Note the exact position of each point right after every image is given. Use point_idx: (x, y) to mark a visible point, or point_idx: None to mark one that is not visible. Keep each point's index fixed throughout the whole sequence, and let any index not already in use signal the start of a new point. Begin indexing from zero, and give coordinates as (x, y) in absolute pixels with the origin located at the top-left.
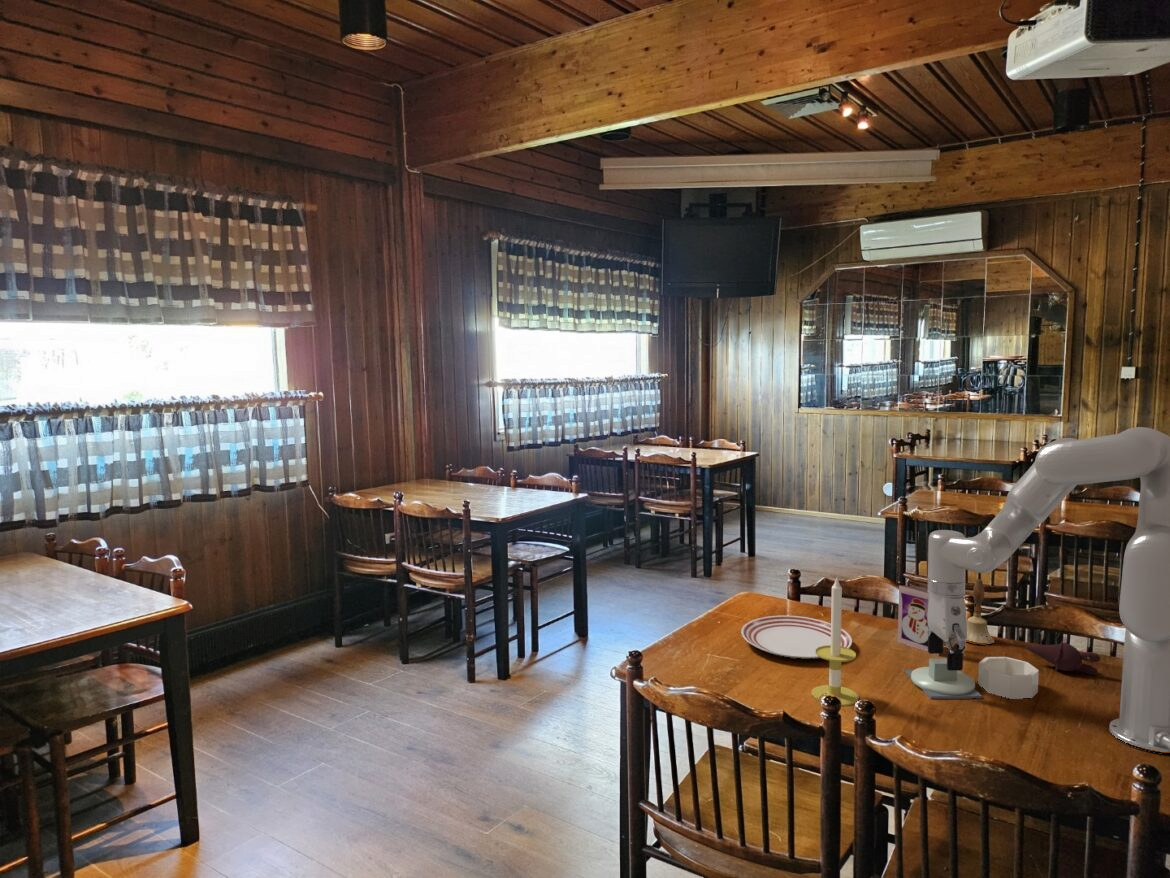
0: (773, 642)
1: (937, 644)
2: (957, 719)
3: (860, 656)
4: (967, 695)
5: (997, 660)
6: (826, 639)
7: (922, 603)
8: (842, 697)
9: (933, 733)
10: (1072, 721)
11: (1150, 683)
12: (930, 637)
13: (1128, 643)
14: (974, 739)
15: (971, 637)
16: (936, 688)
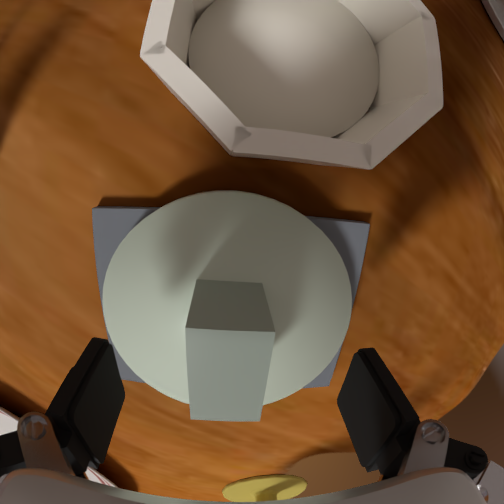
0: None
1: (99, 403)
2: (433, 350)
3: (44, 406)
4: (355, 279)
5: (177, 9)
6: (3, 418)
7: None
8: (281, 488)
9: (442, 397)
10: (488, 73)
11: None
12: (96, 462)
13: None
14: (484, 341)
15: None
16: (314, 377)
